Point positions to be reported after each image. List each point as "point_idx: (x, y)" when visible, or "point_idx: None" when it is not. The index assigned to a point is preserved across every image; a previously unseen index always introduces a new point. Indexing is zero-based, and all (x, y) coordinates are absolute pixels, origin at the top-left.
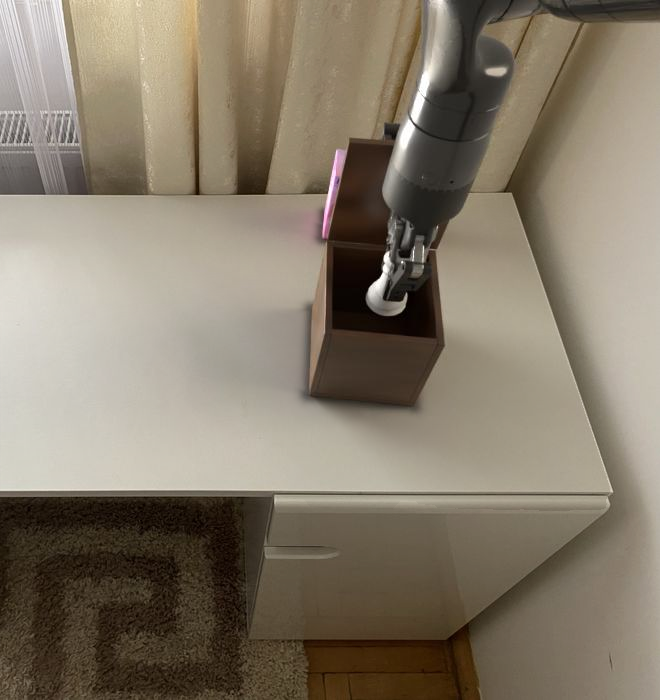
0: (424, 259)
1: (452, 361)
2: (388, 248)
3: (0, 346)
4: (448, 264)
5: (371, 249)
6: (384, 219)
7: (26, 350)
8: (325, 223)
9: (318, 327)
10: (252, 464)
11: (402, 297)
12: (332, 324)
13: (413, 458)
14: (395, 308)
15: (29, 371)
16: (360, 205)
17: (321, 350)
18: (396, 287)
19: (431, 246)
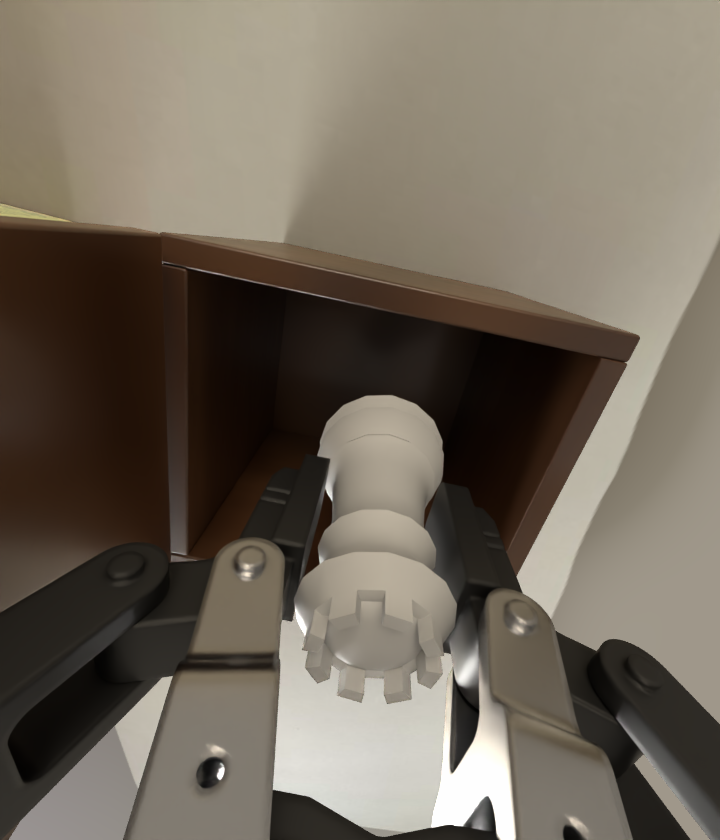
0: (615, 812)
1: (410, 163)
2: (283, 619)
3: (326, 740)
4: (104, 75)
5: (187, 465)
6: (78, 549)
7: (333, 725)
8: None
9: None
10: (542, 555)
11: (499, 535)
12: (307, 411)
13: (616, 323)
14: (442, 460)
15: (361, 724)
16: None
17: None
18: (635, 773)
19: (154, 267)
